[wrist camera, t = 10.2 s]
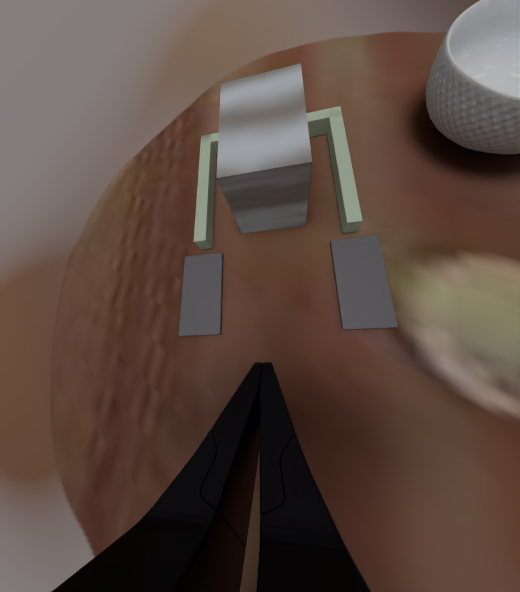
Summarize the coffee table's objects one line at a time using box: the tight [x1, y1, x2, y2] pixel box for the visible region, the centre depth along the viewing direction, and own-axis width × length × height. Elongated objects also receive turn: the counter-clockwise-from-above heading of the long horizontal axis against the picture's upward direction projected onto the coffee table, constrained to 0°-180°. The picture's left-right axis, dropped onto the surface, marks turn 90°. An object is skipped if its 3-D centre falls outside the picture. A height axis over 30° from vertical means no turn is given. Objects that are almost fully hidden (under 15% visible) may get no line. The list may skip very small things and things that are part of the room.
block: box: [217, 64, 312, 233], centre depth 21 cm, size 12×8×8 cm, turn 1°
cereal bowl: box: [426, 0, 520, 154], centre depth 19 cm, size 17×17×7 cm
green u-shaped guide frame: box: [179, 106, 398, 336], centre depth 23 cm, size 28×23×2 cm
